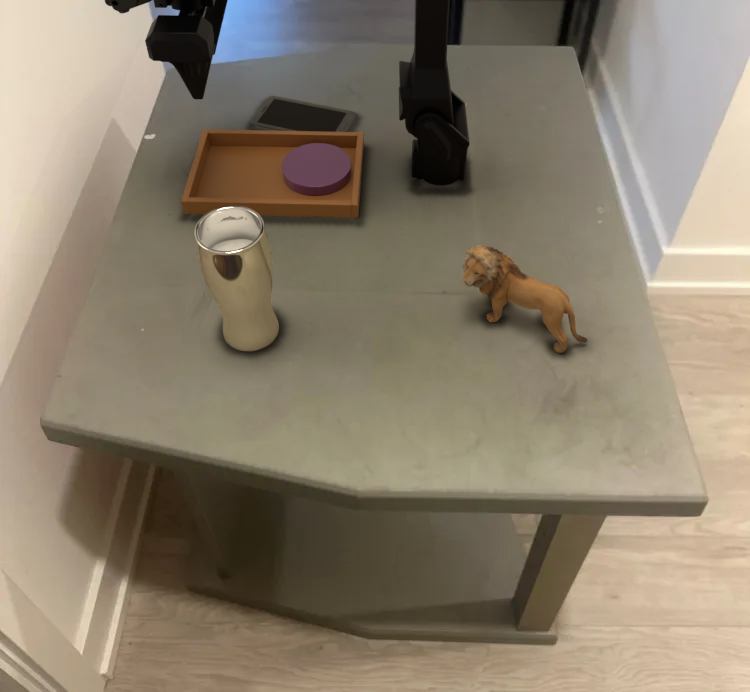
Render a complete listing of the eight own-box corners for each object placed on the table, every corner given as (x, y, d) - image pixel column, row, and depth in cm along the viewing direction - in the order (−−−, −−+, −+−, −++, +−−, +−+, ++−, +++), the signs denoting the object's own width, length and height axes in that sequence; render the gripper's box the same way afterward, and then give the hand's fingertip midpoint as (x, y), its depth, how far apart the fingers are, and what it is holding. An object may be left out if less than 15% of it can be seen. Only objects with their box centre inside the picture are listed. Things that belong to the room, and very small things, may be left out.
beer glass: (272, 359, 79) (253, 259, 67) (210, 349, 79) (180, 249, 68) (290, 311, 83) (275, 208, 71) (231, 302, 84) (206, 199, 72)
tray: (363, 149, 101) (363, 132, 99) (358, 222, 92) (357, 205, 90) (206, 146, 101) (202, 129, 99) (185, 218, 92) (180, 201, 90)
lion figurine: (449, 318, 82) (456, 261, 75) (466, 286, 85) (474, 228, 78) (580, 361, 78) (599, 305, 71) (592, 326, 81) (612, 269, 74)
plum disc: (353, 152, 99) (353, 143, 98) (349, 197, 93) (349, 187, 92) (286, 151, 99) (285, 142, 98) (278, 195, 94) (277, 186, 93)
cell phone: (340, 147, 101) (340, 142, 100) (247, 127, 104) (247, 123, 103) (358, 116, 105) (358, 112, 105) (269, 99, 108) (268, 94, 107)
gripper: (119, -106, 79) (151, 32, 92) (73, -24, 68) (117, 122, 80) (222, -104, 80) (240, 34, 92) (195, -21, 68) (220, 124, 80)
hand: (204, 75), depth 86 cm, fingers open, 9 cm apart
